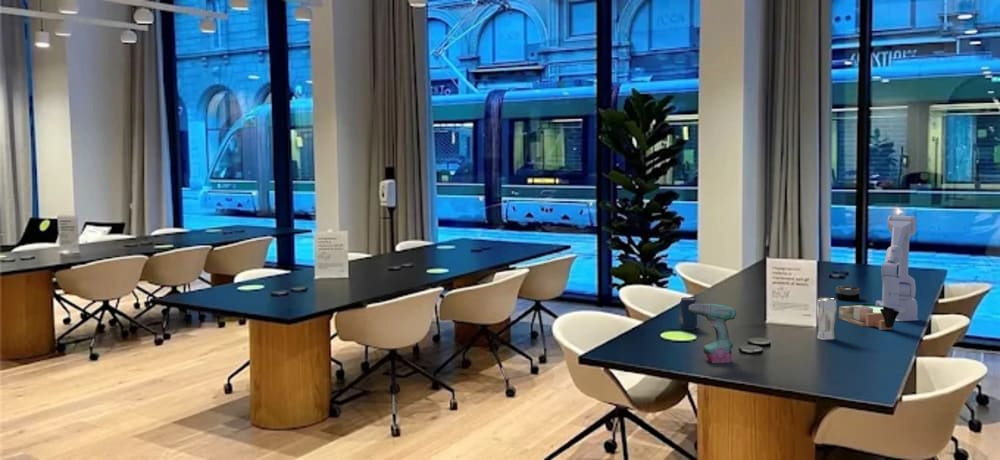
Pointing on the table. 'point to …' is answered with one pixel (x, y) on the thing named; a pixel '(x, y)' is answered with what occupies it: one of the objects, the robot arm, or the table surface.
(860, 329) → the table surface
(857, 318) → the block
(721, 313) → the power drill
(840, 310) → the vise body
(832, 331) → the beer glass
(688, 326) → the soda can
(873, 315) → the brown stepped block
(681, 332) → the table surface
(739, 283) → the table surface
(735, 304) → the table surface
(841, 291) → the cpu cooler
